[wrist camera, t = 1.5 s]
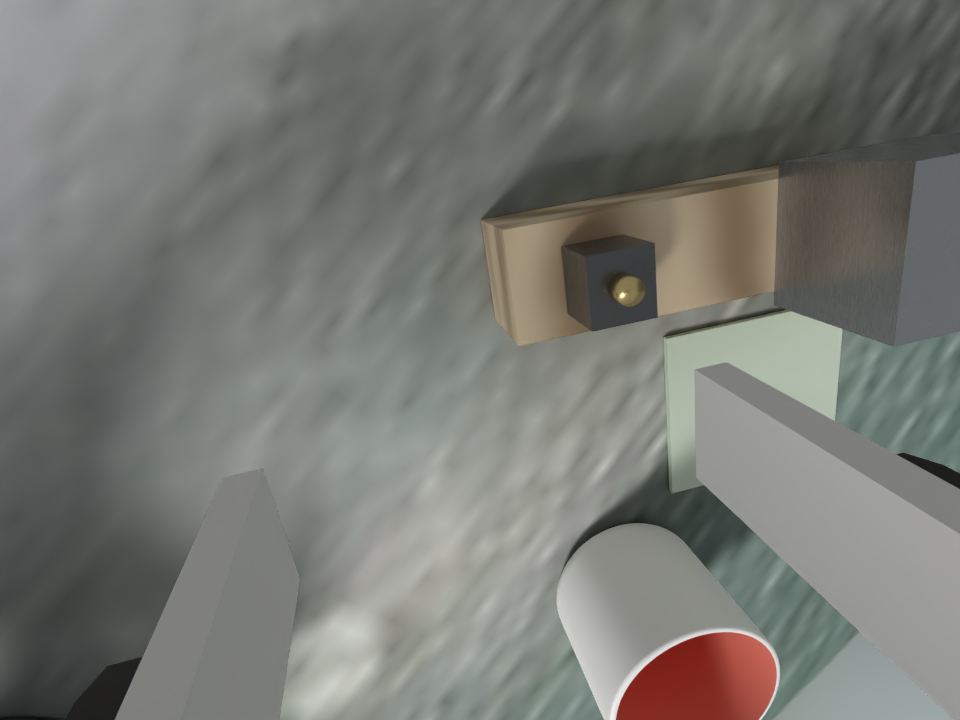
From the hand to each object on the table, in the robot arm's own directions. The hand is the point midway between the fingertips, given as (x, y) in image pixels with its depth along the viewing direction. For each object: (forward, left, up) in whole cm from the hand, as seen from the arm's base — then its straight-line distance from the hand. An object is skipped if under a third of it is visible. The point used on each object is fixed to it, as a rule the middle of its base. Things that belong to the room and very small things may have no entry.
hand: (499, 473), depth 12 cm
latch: (+8, 0, -14) cm, 16 cm away
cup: (+10, -23, -20) cm, 32 cm away
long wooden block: (+15, 0, -19) cm, 25 cm away
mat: (+20, -11, -19) cm, 30 cm away
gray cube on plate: (+22, 0, -14) cm, 26 cm away
